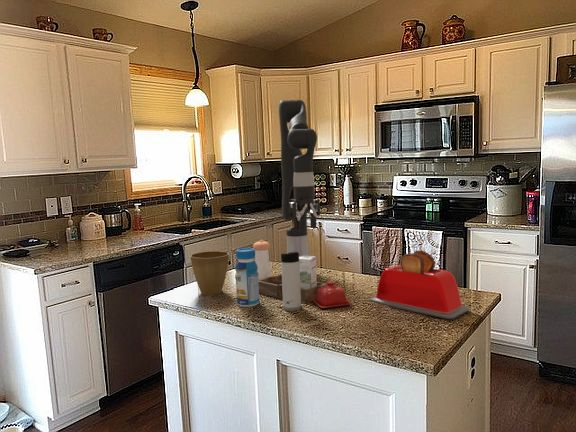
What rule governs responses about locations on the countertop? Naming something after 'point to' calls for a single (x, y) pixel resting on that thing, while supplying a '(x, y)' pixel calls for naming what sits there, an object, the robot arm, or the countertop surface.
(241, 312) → the countertop surface
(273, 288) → the wooden tray
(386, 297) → the toaster
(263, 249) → the salt shaker
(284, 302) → the travel mug
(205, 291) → the plant pot
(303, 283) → the syrup box
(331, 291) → the butter dish
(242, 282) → the beverage bottle
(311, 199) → the robot arm
